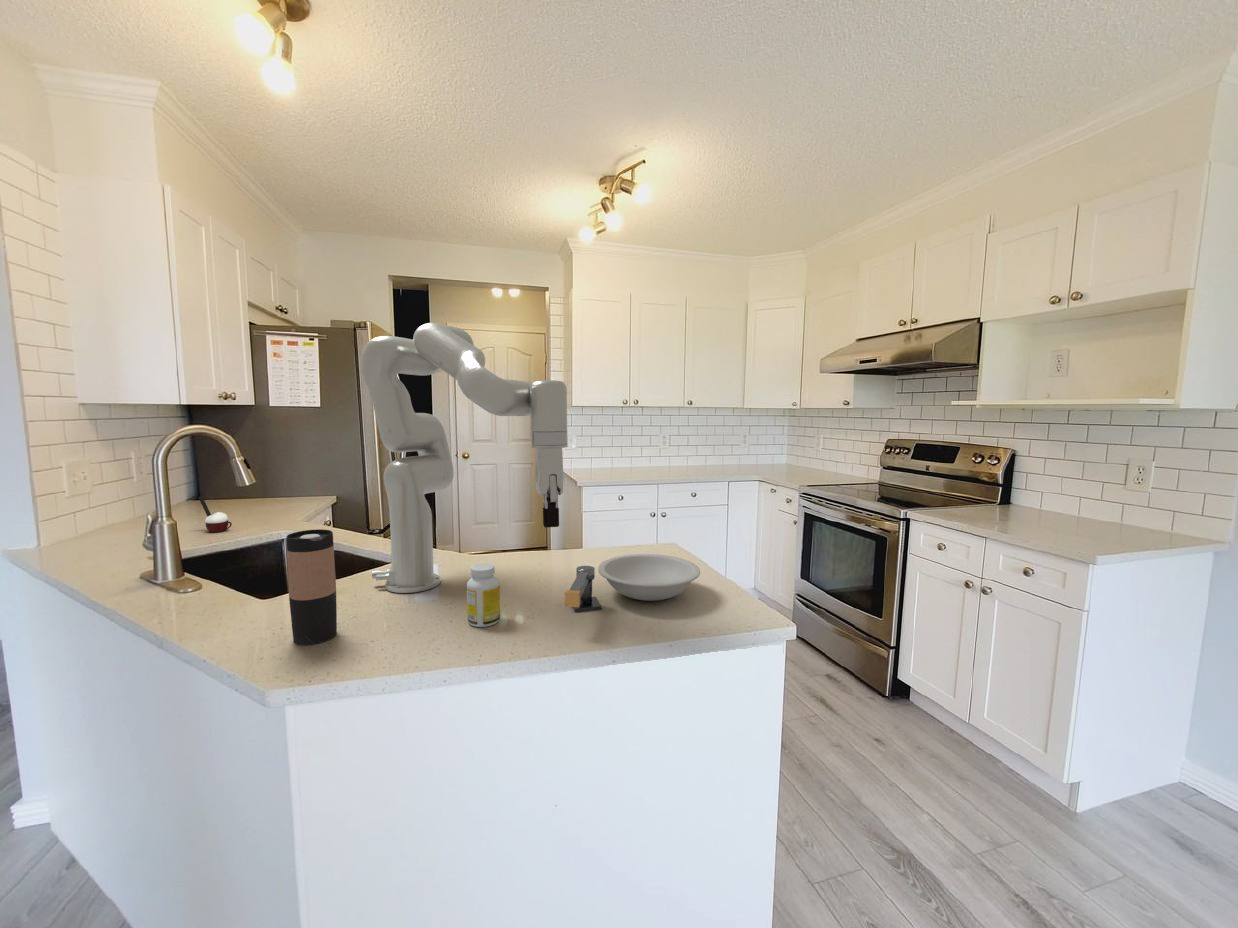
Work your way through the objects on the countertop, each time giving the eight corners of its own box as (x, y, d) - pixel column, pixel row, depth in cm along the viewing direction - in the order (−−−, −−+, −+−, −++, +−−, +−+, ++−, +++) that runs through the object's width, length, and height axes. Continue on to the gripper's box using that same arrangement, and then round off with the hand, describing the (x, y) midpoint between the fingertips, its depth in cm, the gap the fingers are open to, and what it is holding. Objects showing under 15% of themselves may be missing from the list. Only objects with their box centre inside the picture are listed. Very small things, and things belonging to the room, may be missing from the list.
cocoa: (235, 531, 179) (235, 497, 178) (216, 535, 173) (216, 500, 172) (215, 528, 182) (215, 494, 181) (196, 531, 176) (196, 497, 175)
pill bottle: (506, 618, 108) (505, 564, 106) (488, 630, 102) (487, 573, 100) (479, 613, 110) (478, 560, 108) (460, 625, 104) (459, 569, 102)
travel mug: (304, 628, 101) (299, 529, 99) (345, 627, 102) (340, 528, 100) (283, 646, 94) (276, 539, 92) (326, 645, 94) (321, 538, 92)
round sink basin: (719, 594, 123) (720, 567, 122) (655, 624, 105) (656, 593, 105) (642, 572, 139) (643, 548, 138) (576, 595, 122) (576, 567, 121)
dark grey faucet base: (574, 612, 111) (574, 585, 110) (569, 602, 117) (569, 576, 116) (601, 609, 113) (601, 582, 112) (595, 599, 118) (595, 574, 118)
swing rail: (578, 576, 116) (578, 563, 116) (595, 576, 116) (595, 564, 116) (561, 606, 98) (561, 592, 98) (582, 607, 98) (582, 593, 98)
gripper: (528, 438, 114) (530, 520, 116) (534, 442, 99) (536, 535, 101) (562, 438, 116) (563, 518, 118) (573, 441, 101) (574, 533, 103)
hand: (551, 526), depth 109 cm, fingers closed
